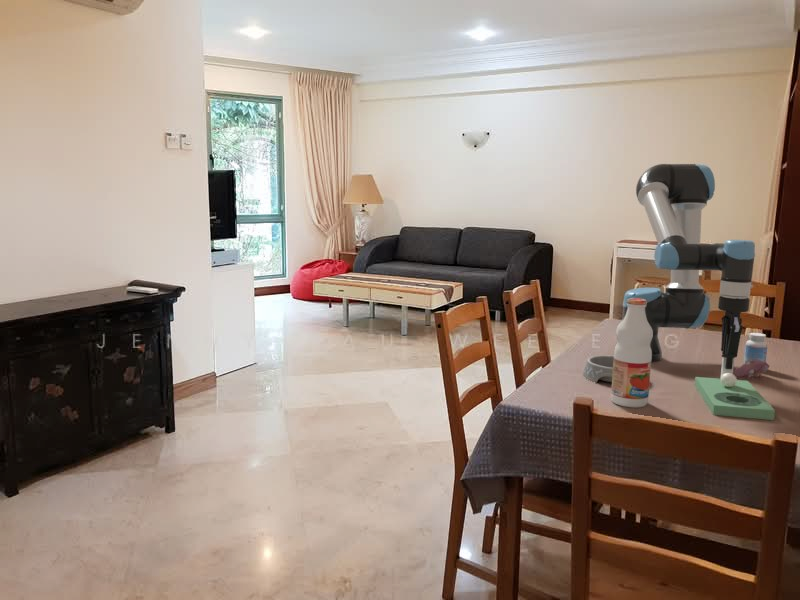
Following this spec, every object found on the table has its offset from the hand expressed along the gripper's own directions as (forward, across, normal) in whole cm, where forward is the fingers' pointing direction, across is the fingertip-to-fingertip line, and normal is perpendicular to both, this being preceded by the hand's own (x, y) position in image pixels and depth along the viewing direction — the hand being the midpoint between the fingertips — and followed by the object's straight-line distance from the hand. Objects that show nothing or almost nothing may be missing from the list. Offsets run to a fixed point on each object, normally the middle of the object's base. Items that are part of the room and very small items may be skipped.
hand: (726, 379), depth 184 cm
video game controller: (+4, +19, -11) cm, 23 cm away
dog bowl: (+4, +6, +30) cm, 31 cm away
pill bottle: (+4, +30, -15) cm, 34 cm away
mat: (+4, -8, 0) cm, 9 cm away
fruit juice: (+4, -17, +27) cm, 32 cm away
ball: (0, -3, 0) cm, 3 cm away
